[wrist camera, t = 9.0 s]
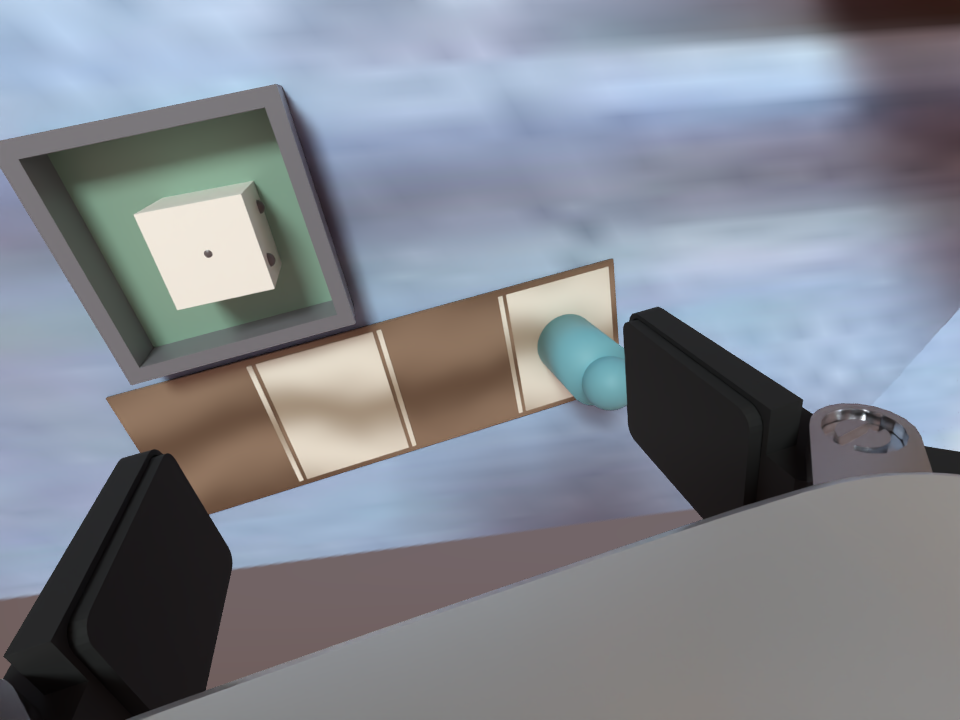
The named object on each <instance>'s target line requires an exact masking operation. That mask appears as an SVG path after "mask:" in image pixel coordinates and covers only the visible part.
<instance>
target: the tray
mask: <svg viewBox="0 0 960 720" xmlns="http://www.w3.org/2000/svg"><path fill="white" fill-rule="evenodd" d="M0 168H1V170H2V171H3V173H4V175H5V176H6V178H7V179H8V181H9V183H10V184H11V186H12V188H13V189H14V191H15V193H16V194H17V196H18V198H19V199H20V201H21V203H22V204H23V206H24V208H25V209H26V211H27V213H28V214H29V216H30V218H31V219H32V221H33V223H34V224H35V226H36V228H37V229H38V231H39V233H40V234H41V236H42V238H43V239H44V241H45V243H46V244H47V246H48V248H49V249H50V251H51V253H52V254H53V256H54V258H55V259H56V261H57V263H58V264H59V266H60V268H61V269H62V271H63V273H64V274H65V276H66V278H67V279H68V281H69V283H70V284H71V286H72V288H73V289H74V291H75V293H76V294H77V296H78V298H79V299H80V301H81V303H82V304H83V306H84V308H85V309H86V311H87V313H88V314H89V316H90V318H91V319H92V321H93V323H94V324H95V326H96V328H97V329H98V331H99V333H100V334H101V336H102V338H103V339H104V341H105V343H106V344H107V346H108V348H109V349H110V351H111V353H112V354H113V356H114V358H115V359H116V361H117V363H118V364H119V366H120V368H121V369H122V371H123V373H124V374H125V376H126V378H127V379H128V381H129V383H130V384H131V385H134V384H138V383H141V382H145V381H149V380H152V379H156V378H160V377H163V376H167V375H170V374H174V373H178V372H181V371H185V370H189V369H192V368H196V367H200V366H203V365H207V364H211V363H214V362H218V361H222V360H225V359H229V358H233V357H236V356H240V355H244V354H247V353H251V352H255V351H258V350H262V349H266V348H269V347H273V346H276V345H280V344H284V343H287V342H291V341H295V340H298V339H302V338H306V337H309V336H313V335H317V334H320V333H324V332H328V331H331V330H335V329H339V328H342V327H346V326H350V325H353V324H356V321H355V313H354V305H353V302H352V299H351V296H350V293H349V290H348V287H347V284H346V281H345V278H344V275H343V272H342V269H341V266H340V262H339V259H338V256H337V253H336V250H335V247H334V244H333V241H332V238H331V235H330V232H329V229H328V226H327V223H326V220H325V217H324V214H323V211H322V208H321V205H320V202H319V198H318V195H317V192H316V189H315V186H314V183H313V180H312V177H311V174H310V171H309V168H308V165H307V162H306V159H305V156H304V153H303V150H302V147H301V144H300V141H299V138H298V135H297V131H296V128H295V125H294V122H293V119H292V116H291V113H290V110H289V107H288V104H287V101H286V98H285V95H284V92H283V89H282V86H280V85H277V84H274V85H270V86H265V87H260V88H255V89H250V90H245V91H240V92H235V93H231V94H226V95H221V96H216V97H211V98H206V99H201V100H196V101H192V102H187V103H182V104H177V105H172V106H167V107H162V108H157V109H153V110H148V111H143V112H138V113H133V114H128V115H123V116H118V117H114V118H109V119H104V120H99V121H94V122H89V123H84V124H79V125H75V126H70V127H65V128H60V129H55V130H50V131H45V132H40V133H35V134H31V135H26V136H21V137H16V138H11V139H6V140H1V141H0ZM249 181H254V183H255V186H256V189H257V192H258V195H259V198H260V201H262V202H263V203H264V205H265V211H264V213H265V216H266V219H267V222H268V224H269V227H270V230H271V233H272V236H273V239H274V242H275V245H276V248H277V251H278V254H279V257H280V260H281V263H282V265H281V268H280V272H279V275H278V279H277V282H276V286H275V289H272V290H267V291H262V292H258V293H253V294H249V295H244V296H240V297H235V298H231V299H226V300H222V301H217V302H212V303H208V304H203V305H199V306H194V307H190V308H185V309H181V310H177V308H176V306H175V304H174V302H173V300H172V298H171V295H170V293H169V291H168V289H167V287H166V284H165V282H164V280H163V278H162V276H161V274H160V271H159V269H158V267H157V265H156V263H155V261H154V258H153V256H152V254H151V252H150V250H149V247H148V245H147V243H146V241H145V239H144V237H143V234H142V232H141V230H140V228H139V226H138V224H137V221H136V219H135V217H134V214H135V213H137V212H139V211H140V210H142V209H144V208H146V207H147V206H149V205H151V204H153V203H154V202H156V201H158V200H159V199H161V198H164V197H169V196H175V195H180V194H185V193H191V192H196V191H201V190H207V189H212V188H217V187H223V186H228V185H233V184H239V183H244V182H249Z"/></svg>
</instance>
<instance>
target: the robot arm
mask: <svg viewBox="0 0 960 720" xmlns="http://www.w3.org/2000/svg"><path fill="white" fill-rule="evenodd" d="M623 335H624V355H625V374H626V394H627V413H628V427H629V430H630V433H631V435H632V437H633V439H634V440H635V441H636V443H637V444H638V445H639V446H640V447H641V448H642V449H643V451H644V452H645V453H646V454H647V455H648V456H649V457H650V459H651V460H652V461H653V462H654V463H655V464H656V465H657V467H658V468H659V469H660V470H661V471H662V472H663V473H664V475H665V476H666V477H667V478H668V479H669V480H670V482H671V483H672V484H673V485H674V486H675V487H676V488H677V490H678V491H679V492H680V493H681V494H682V495H683V496H684V498H685V499H686V500H687V501H688V502H689V503H690V504H691V506H692V507H693V508H694V509H695V510H696V511H697V512H698V513H699V515H700V516H701V517H702V518H703V520H700V521H697V522H694V523H690V524H688V525H684V526H681V527H678V528H675V529H672V530H669V531H667V532H664V533H661V534H658V535H655V536H652V537H649V538H646V539H643V540H640V541H637V542H634V543H631V544H628V545H625V546H622V547H619V548H616V549H613V550H610V551H608V552H605V553H602V554H598V555H596V556H593V557H590V558H587V559H584V560H581V561H578V562H575V563H572V564H569V565H566V566H563V567H560V568H557V569H554V570H551V571H548V572H545V573H543V574H540V575H537V576H534V577H531V578H528V579H525V580H522V581H519V582H516V583H514V584H510V585H508V586H505V587H502V588H499V589H496V590H493V591H490V592H487V593H485V594H482V595H478V596H476V597H473V598H470V599H467V600H464V601H461V602H458V603H455V604H452V605H449V606H446V607H444V608H441V609H438V610H435V611H432V612H429V613H427V614H423V615H420V616H418V617H415V618H412V619H409V620H406V621H404V622H400V623H397V624H395V625H392V626H389V627H386V628H383V629H380V630H377V631H374V632H371V633H368V634H366V635H363V636H360V637H357V638H354V639H351V640H349V641H346V642H343V643H340V644H337V645H334V646H331V647H329V648H326V649H323V650H320V651H317V652H314V653H311V654H309V655H306V656H303V657H300V658H297V659H295V660H291V661H289V662H286V663H283V664H280V665H277V666H274V667H272V668H269V669H266V670H263V671H260V672H257V673H254V674H252V675H249V676H246V677H243V678H240V679H237V680H235V681H232V682H229V683H226V684H223V685H220V686H217V687H215V688H212V689H209V690H206V686H207V681H208V677H209V672H210V667H211V663H212V657H213V653H214V649H215V644H216V640H217V635H218V631H219V626H220V621H221V616H222V612H223V607H224V603H225V598H226V594H227V589H228V584H229V580H230V575H231V571H232V556H231V552H230V550H229V548H228V546H227V544H226V543H225V541H224V539H223V538H222V536H221V534H220V533H219V531H218V529H217V528H216V526H215V524H214V523H213V521H212V519H211V518H210V516H209V514H208V513H207V511H206V509H205V508H204V506H203V504H202V503H201V501H200V499H199V498H198V496H197V494H196V493H195V491H194V489H193V488H192V486H191V484H190V483H189V481H188V479H187V478H186V476H185V474H184V473H183V471H182V469H181V468H180V466H179V464H178V463H177V461H176V459H175V458H174V457H173V456H172V455H171V454H169V453H166V454H162V453H161V452H160V451H159V450H156V449H153V450H149V451H146V452H142V453H139V454H135V455H132V456H128V457H125V458H122V459H121V460H120V461H119V462H118V463H117V465H116V467H115V468H114V470H113V472H112V473H111V475H110V477H109V478H108V480H107V482H106V484H105V485H104V487H103V489H102V490H101V492H100V494H99V495H98V497H97V499H96V500H95V502H94V504H93V506H92V507H91V509H90V511H89V512H88V514H87V516H86V517H85V519H84V521H83V522H82V524H81V526H80V528H79V529H78V531H77V533H76V534H75V536H74V538H73V539H72V541H71V543H70V544H69V546H68V548H67V550H66V551H65V553H64V555H63V556H62V558H61V560H60V561H59V563H58V565H57V566H56V568H55V570H54V572H53V573H52V575H51V577H50V578H49V580H48V582H47V583H46V585H45V587H44V588H43V590H42V592H41V593H40V595H39V597H38V599H37V600H36V602H35V604H34V605H33V607H32V609H31V611H30V612H29V614H28V615H27V617H26V619H25V621H24V622H23V624H22V626H21V628H20V629H19V631H18V633H17V634H16V636H15V638H14V639H13V641H12V643H11V644H10V646H9V648H8V649H7V651H6V653H5V654H4V658H6V659H7V660H8V661H9V662H10V663H11V666H10V667H9V669H8V671H7V673H6V675H5V676H4V678H3V679H0V720H960V452H958V451H951V450H945V449H939V448H932V447H926V446H924V444H923V441H922V437H921V435H920V434H919V432H918V431H917V429H916V427H915V426H913V425H912V424H911V423H910V422H908V421H907V420H906V419H904V418H902V417H900V416H898V415H896V414H894V413H892V412H890V411H887V410H884V409H881V408H878V407H874V406H868V405H862V404H844V403H842V404H835V405H829V406H826V407H824V408H821V409H819V410H817V411H816V412H815V413H814V414H812V413H810V412H809V411H807V410H806V409H804V408H803V407H802V404H803V399H801V398H800V397H798V396H796V395H795V394H793V393H792V392H790V391H789V390H787V389H786V388H784V387H783V386H781V385H779V384H778V383H776V382H775V381H773V380H772V379H770V378H769V377H767V376H766V375H764V374H762V373H761V372H759V371H758V370H756V369H755V368H753V367H752V366H750V365H749V364H747V363H745V362H744V361H742V360H741V359H739V358H738V357H736V356H735V355H733V354H732V353H730V352H729V351H727V350H725V349H724V348H722V347H721V346H719V345H718V344H716V343H715V342H713V341H712V340H710V339H708V338H707V337H705V336H704V335H702V334H701V333H699V332H698V331H696V330H695V329H693V328H691V327H690V326H688V325H687V324H685V323H684V322H682V321H681V320H679V319H678V318H676V317H674V316H673V315H671V314H670V313H668V312H667V311H665V310H664V309H662V308H660V307H655V308H652V309H648V310H644V311H641V312H637V313H634V314H632V315H631V317H630V320H629V322H626V323H625V324H624V327H623ZM205 690H206V691H205Z"/></svg>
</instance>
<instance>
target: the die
mask: <svg viewBox="0 0 960 720" xmlns="http://www.w3.org/2000/svg"><path fill="white" fill-rule="evenodd" d="M264 211H265V205H264V203H263V202H262V201H260V198H259V195H258V192H257V189H256V186H255V183H254V181H249V182H244V183H239V184H233V185H228V186H223V187H217V188H212V189H207V190H201V191H196V192H191V193H185V194H180V195H175V196H169V197H164V198H161V199H159V200H158V201H156V202H154V203H153V204H151V205H149V206H147V207H146V208H144V209H142V210H140V211H139V212H137V213H135V214H134V217H135V219H136V221H137V224H138V226H139V228H140V230H141V232H142V234H143V237H144V239H145V241H146V243H147V245H148V247H149V250H150V252H151V254H152V256H153V258H154V261H155V263H156V265H157V267H158V269H159V271H160V274H161V276H162V278H163V280H164V282H165V284H166V287H167V289H168V291H169V293H170V295H171V298H172V300H173V302H174V304H175V306H176V308H177V310H181V309H185V308H190V307H194V306H199V305H203V304H208V303H212V302H217V301H222V300H226V299H231V298H235V297H240V296H244V295H249V294H253V293H258V292H262V291H267V290H272V289H275V286H276V282H277V279H278V275H279V272H280V268H281V265H282V263H281V260H280V257H279V254H278V251H277V248H276V245H275V242H274V239H273V236H272V233H271V230H270V227H269V224H268V222H267V219H266V216H265V213H264Z"/></svg>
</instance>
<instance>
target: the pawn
mask: <svg viewBox="0 0 960 720" xmlns="http://www.w3.org/2000/svg"><path fill="white" fill-rule="evenodd" d="M537 349H538V354H539V357H540V359H541V361H542V362H543V363H544V364H545V365H546V366H547V368H548V369H549V370H550V371H551V372H552V373H553V374H554V375H555V376H556V377H557V379H558V380H559V381H560V382H561V383H562V384H563V385H564V386H565V387H566V389H567V390H568V391H569V392H570V393H571V394H572V395H573V396H574V397H575V398H576V399H577V400H578V401H579V402H581V403H583V404H586V405H594V406H596V407H598V408H600V409H603V410H618V409H621V408H623V407H625V406H627V394H626V374H625V355H624V348H623V347H621V346H620V345H619V344H618V343H616V342H615V341H614V340H612V339H611V338H610V337H608V336H607V335H606V334H604V333H603V332H602V331H600V330H599V329H598V328H597V327H595V326H594V325H593V324H591V323H590V322H589V321H587V320H586V319H585V318H583V317H581V316H579V315H576V314H565V315H561V316H559V317H557V318H555V319H553V320H552V321H551V322H549V323H548V324H547V325H546V326H545V328H544V329H543V331H542V332H541V334H540V337H539V340H538V346H537Z"/></svg>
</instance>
